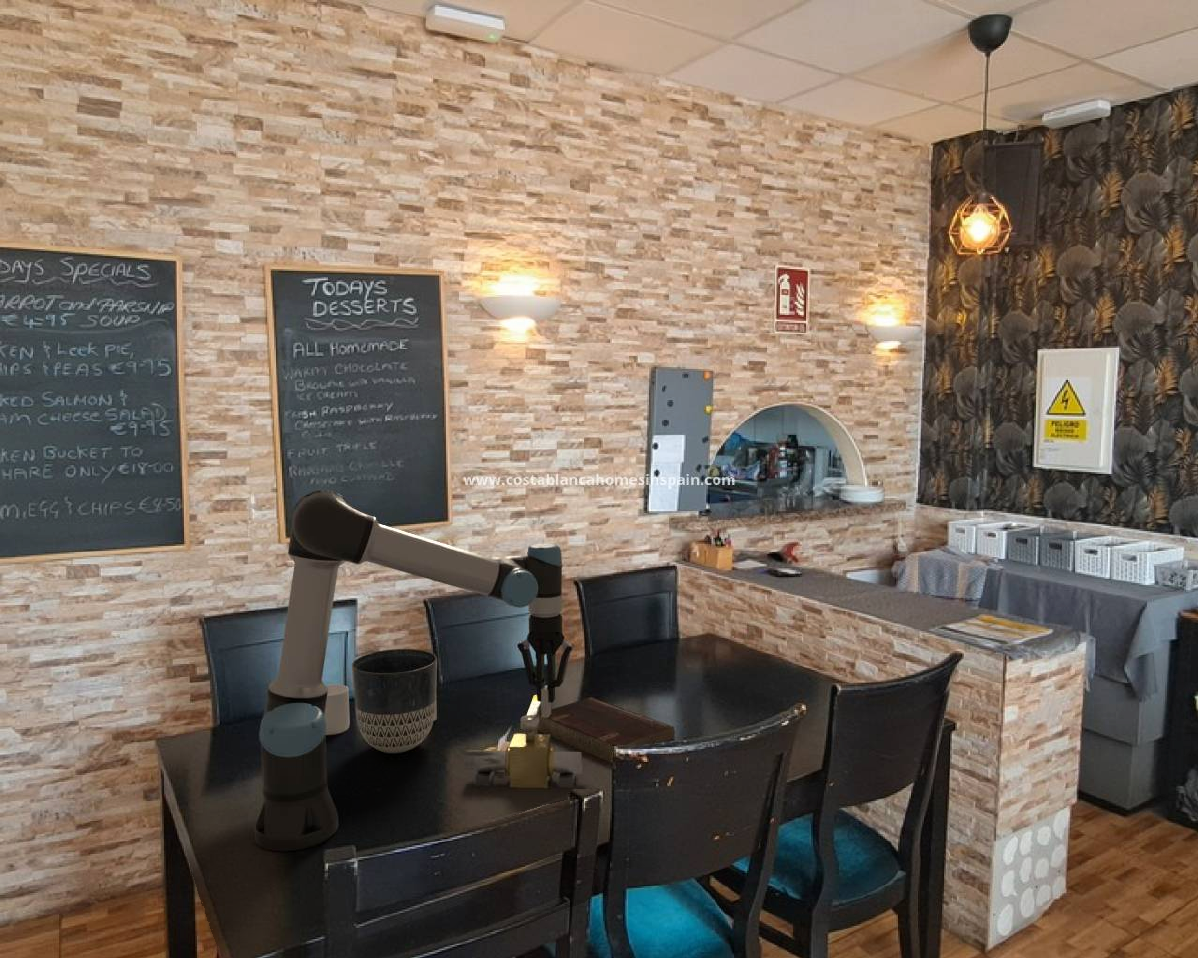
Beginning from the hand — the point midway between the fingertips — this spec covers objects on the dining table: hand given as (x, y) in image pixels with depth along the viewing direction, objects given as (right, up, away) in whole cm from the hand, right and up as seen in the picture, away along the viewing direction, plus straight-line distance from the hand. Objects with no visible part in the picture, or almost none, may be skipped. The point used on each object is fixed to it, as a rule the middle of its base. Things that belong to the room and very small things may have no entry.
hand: (546, 715), depth 195 cm
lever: (-3, 0, -2) cm, 4 cm away
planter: (-36, -11, +10) cm, 39 cm away
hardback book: (+13, -10, +16) cm, 24 cm away
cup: (-56, -10, +24) cm, 62 cm away
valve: (-4, -12, -8) cm, 15 cm away
